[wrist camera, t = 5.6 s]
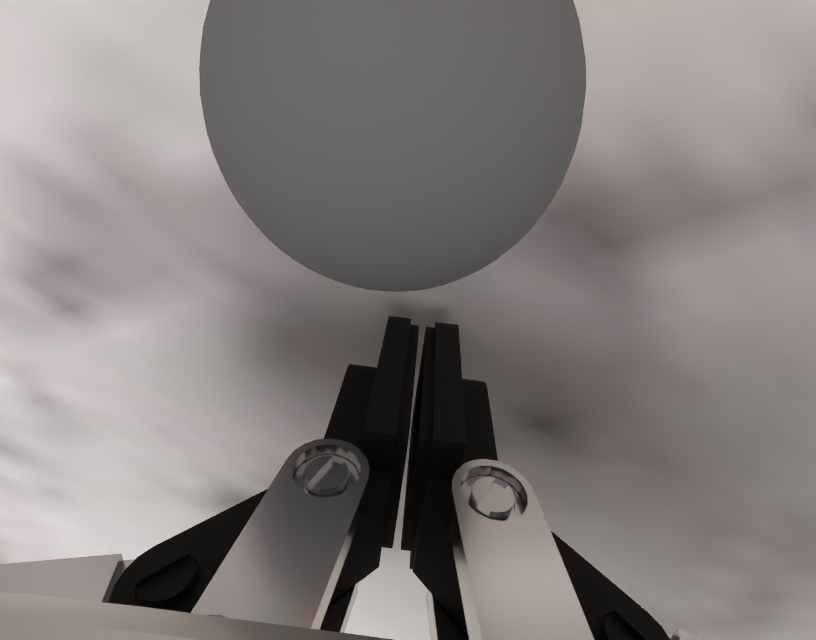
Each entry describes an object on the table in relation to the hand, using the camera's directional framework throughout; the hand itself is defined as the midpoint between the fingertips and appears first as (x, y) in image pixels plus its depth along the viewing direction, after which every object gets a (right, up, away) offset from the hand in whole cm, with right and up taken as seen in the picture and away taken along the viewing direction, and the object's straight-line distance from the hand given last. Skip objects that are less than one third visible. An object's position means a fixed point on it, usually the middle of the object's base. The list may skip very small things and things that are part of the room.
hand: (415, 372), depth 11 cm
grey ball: (0, +5, -4) cm, 6 cm away
